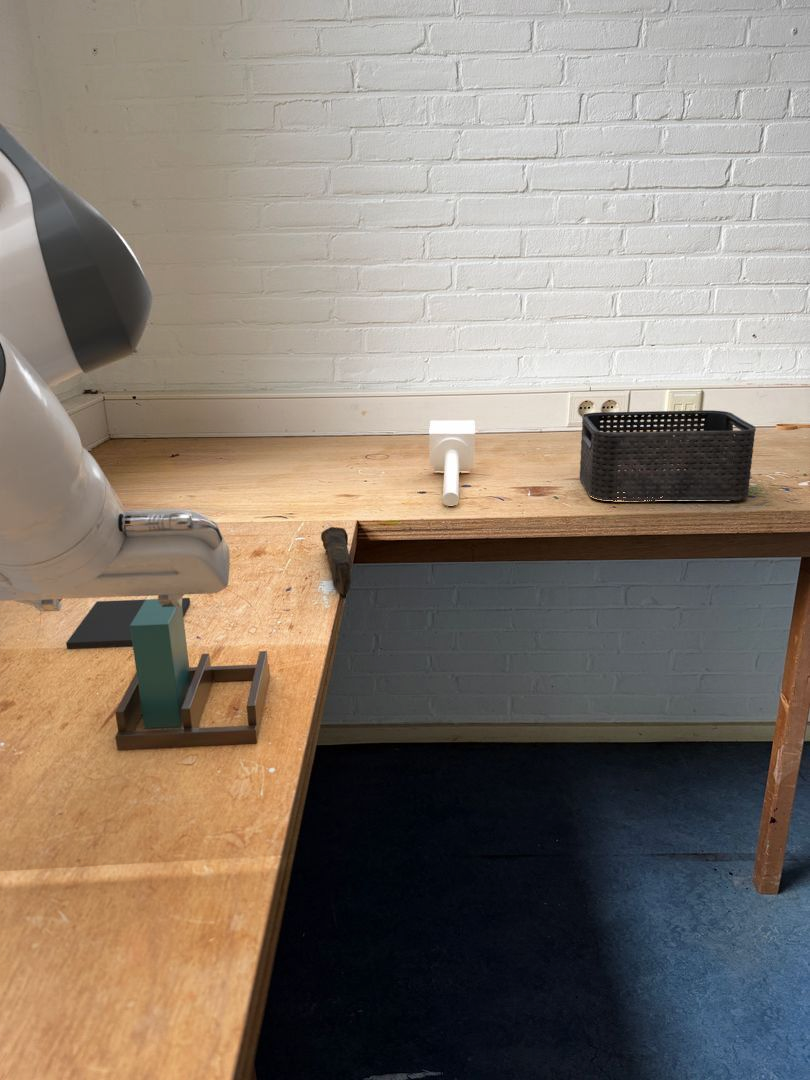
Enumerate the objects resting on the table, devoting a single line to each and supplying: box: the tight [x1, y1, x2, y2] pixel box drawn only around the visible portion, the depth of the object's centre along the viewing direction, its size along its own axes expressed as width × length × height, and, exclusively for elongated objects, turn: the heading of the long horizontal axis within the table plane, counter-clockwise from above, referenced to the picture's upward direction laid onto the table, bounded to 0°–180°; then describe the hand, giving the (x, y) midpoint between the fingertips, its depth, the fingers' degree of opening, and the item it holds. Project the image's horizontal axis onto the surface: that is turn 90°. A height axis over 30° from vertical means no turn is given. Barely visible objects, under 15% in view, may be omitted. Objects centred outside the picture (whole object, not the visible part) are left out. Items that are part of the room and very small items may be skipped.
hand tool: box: [320, 526, 352, 596], centre depth 114 cm, size 19×4×5 cm, turn 6°
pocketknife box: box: [130, 598, 191, 730], centre depth 78 cm, size 4×6×11 cm, turn 4°
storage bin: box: [579, 409, 757, 501], centre depth 150 cm, size 29×19×13 cm
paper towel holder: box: [428, 420, 476, 506], centre depth 157 cm, size 9×9×32 cm
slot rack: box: [114, 650, 271, 751], centre depth 79 cm, size 13×13×4 cm
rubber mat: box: [65, 597, 191, 650], centre depth 99 cm, size 12×12×1 cm
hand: (113, 600), depth 63 cm, fingers open, 8 cm apart
